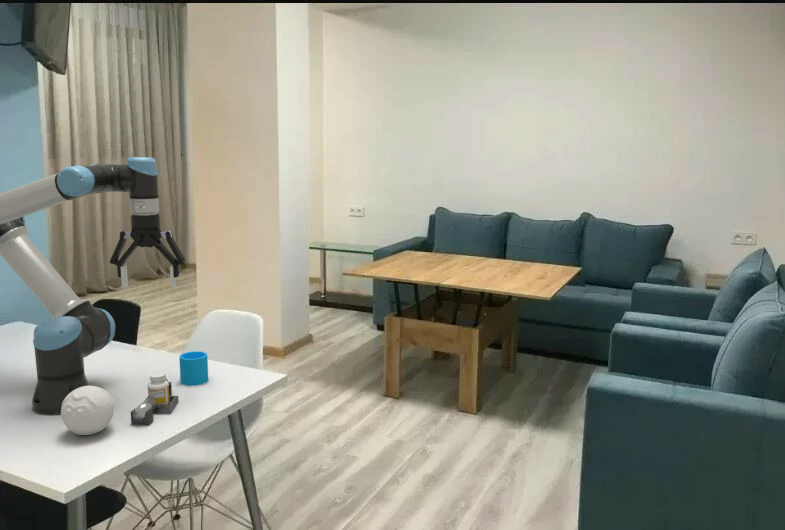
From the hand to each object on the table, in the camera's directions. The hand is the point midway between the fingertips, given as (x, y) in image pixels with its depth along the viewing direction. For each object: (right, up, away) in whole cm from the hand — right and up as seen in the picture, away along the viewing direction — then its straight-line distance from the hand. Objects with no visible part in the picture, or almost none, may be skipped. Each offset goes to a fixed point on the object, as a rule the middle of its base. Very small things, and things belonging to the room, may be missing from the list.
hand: (149, 288), depth 191 cm
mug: (+8, -28, +16) cm, 33 cm away
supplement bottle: (+5, -33, -7) cm, 34 cm away
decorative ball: (-7, -35, -23) cm, 43 cm away
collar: (+5, -32, -7) cm, 34 cm away
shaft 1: (+4, -34, -15) cm, 37 cm away
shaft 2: (+3, -31, +1) cm, 31 cm away
